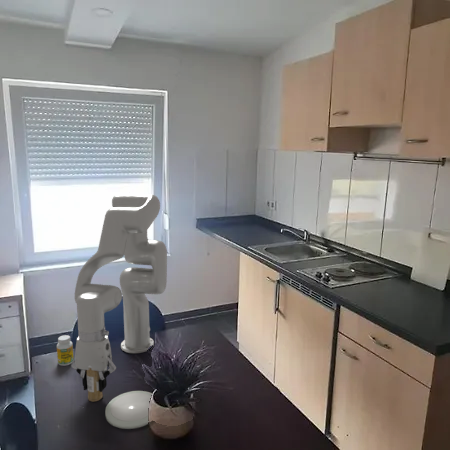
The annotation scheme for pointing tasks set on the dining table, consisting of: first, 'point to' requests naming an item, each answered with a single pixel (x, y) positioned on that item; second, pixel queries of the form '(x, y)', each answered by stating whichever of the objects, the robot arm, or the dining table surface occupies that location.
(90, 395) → the sprinkles bottle
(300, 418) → the dining table surface
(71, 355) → the supplement bottle
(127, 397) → the dish
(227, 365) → the dining table surface
